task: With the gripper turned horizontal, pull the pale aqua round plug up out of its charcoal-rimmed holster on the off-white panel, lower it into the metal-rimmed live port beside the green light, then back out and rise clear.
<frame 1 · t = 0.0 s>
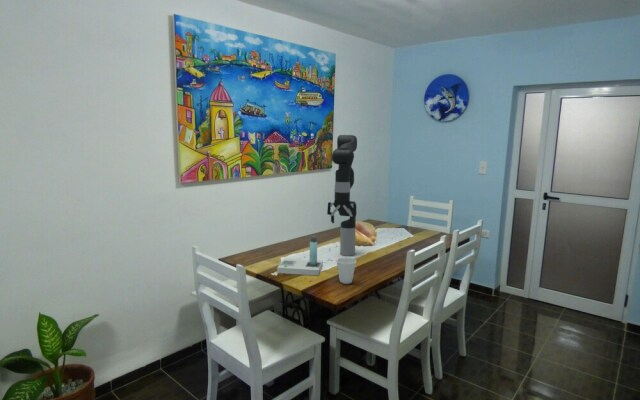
hand: (341, 223, 185), 29 cm above the table, tool pointing down, fingers open, 8 cm apart
panel: (300, 269, 205), on the table
plug: (313, 270, 204), resting in panel
cup: (345, 282, 187), on the table
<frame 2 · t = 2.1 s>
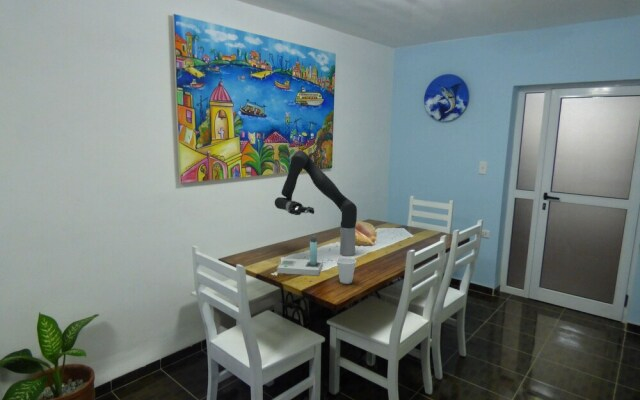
hand: (306, 212, 208), 30 cm above the table, tool horizontal, fingers open, 8 cm apart
nothing on the table moved.
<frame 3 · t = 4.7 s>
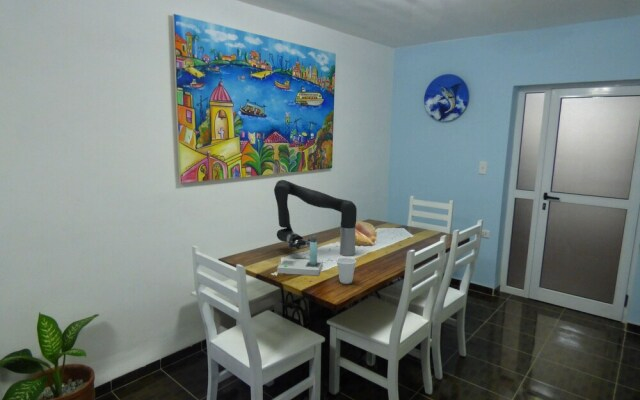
hand: (305, 246, 211), 11 cm above the table, tool horizontal, fingers open, 8 cm apart
nothing on the table moved.
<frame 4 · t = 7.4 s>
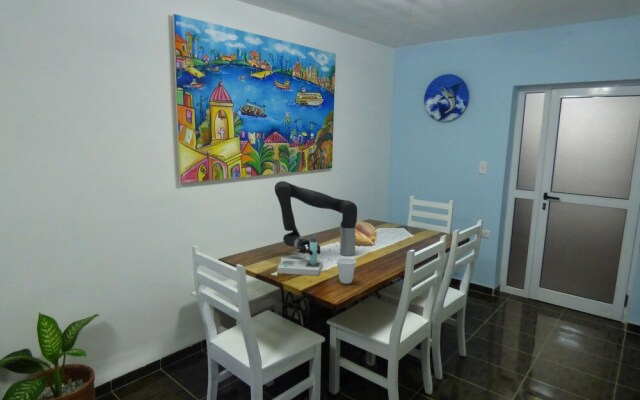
hand: (315, 252, 200), 10 cm above the table, tool horizontal, fingers closed on plug, 4 cm apart
plug: (313, 270, 204), resting in panel, touching gripper
everything else where it was.
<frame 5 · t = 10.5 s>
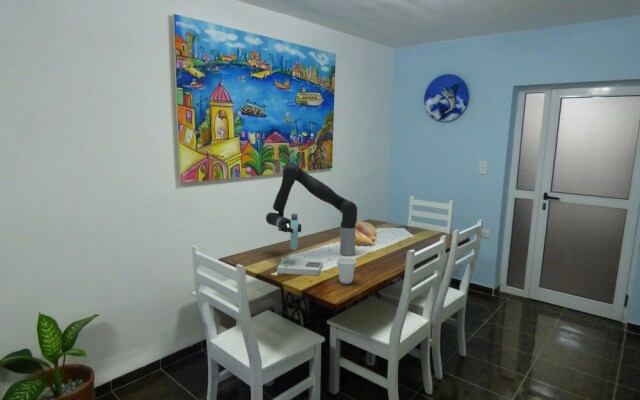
hand: (296, 230, 199), 22 cm above the table, tool horizontal, fingers closed on plug, 4 cm apart
plug: (294, 248, 203), point 12 cm above the table, touching gripper
everything else where it was.
when the fingers open (11 cm above the table, at t = 13.9 s): plug stays where it is, resting in panel.
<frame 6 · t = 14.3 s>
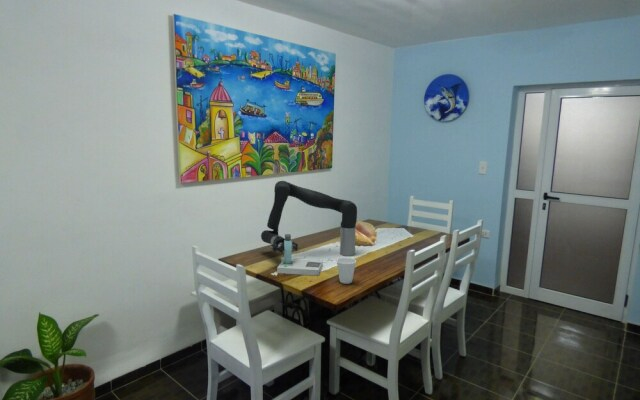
hand: (289, 250, 202), 11 cm above the table, tool horizontal, fingers open, 8 cm apart
plug: (288, 268, 206), resting in panel
everything else where it was.
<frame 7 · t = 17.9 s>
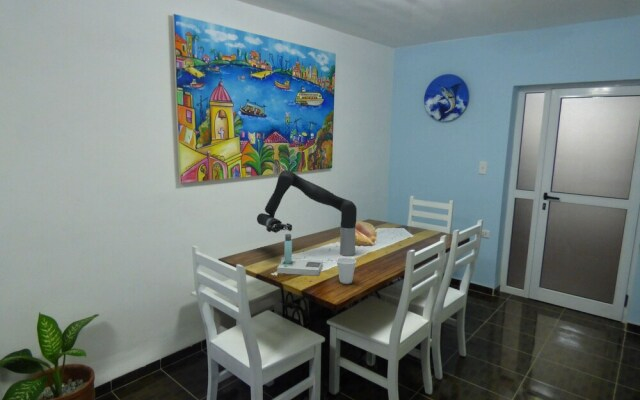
hand: (283, 230, 209), 20 cm above the table, tool horizontal, fingers open, 8 cm apart
nothing on the table moved.
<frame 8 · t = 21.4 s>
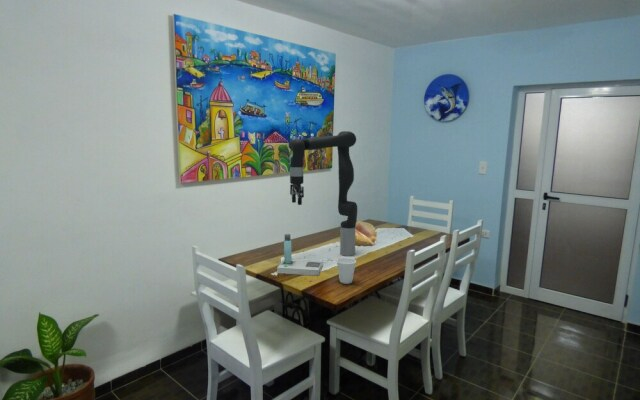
hand: (296, 203, 213), 34 cm above the table, tool pointing down, fingers open, 8 cm apart
nothing on the table moved.
at the end: plug 0.0 cm from the target spot on the panel, point 0.0 cm above the panel's base; plug tilted 1°; the gripper is holding nothing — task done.
